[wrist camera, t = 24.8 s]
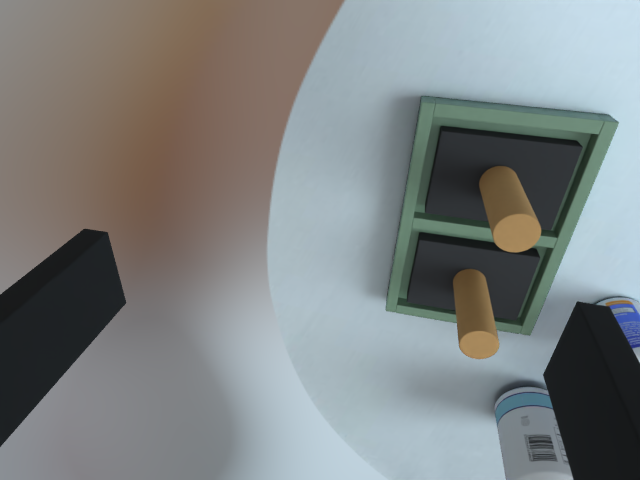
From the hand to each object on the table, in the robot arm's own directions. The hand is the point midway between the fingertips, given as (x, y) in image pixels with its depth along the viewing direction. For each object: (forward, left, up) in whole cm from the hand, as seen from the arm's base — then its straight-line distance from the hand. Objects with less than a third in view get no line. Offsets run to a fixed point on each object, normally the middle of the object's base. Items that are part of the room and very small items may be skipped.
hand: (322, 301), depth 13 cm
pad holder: (+10, +10, -26) cm, 29 cm away
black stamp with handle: (+5, +10, -25) cm, 27 cm away
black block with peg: (+15, +10, -25) cm, 31 cm away
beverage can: (+31, +20, -26) cm, 45 cm away
